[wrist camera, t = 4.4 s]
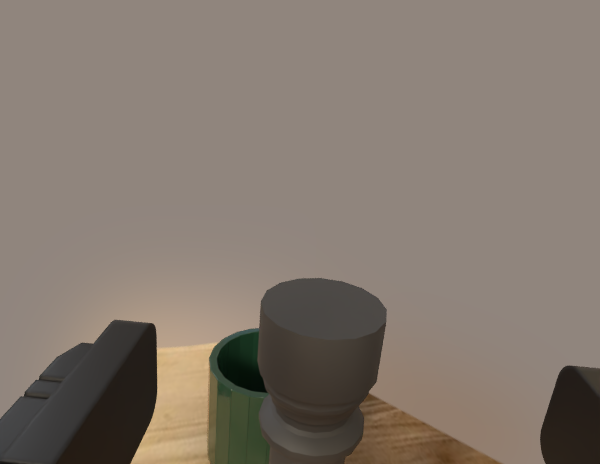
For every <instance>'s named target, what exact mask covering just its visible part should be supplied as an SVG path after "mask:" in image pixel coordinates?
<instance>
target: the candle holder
mask: <svg viewBox="0 0 600 464" xmlns="http://www.w3.org/2000/svg"><path fill="white" fill-rule="evenodd" d="M385 326H386V308H385V307H384V306H383V304H382V303H381V302H380V300H379V299H378V298H377V297H375V296H374V295H372V294H370V293H369V292H367V291H366V290H364V289H362V288H359V287H356V286H354V285H350V284H348V283H345V282H341V281H335V280H328V279H322V278H315V279H314V278H312V279H311V278H310V279H296V280H291V281H287V282H282V283H279V284H278V285H276V286H274V287H273V288H271V289H269V290H267V291H266V293H265V295H264V297H263V299H262V300H261V310H260V327H259V342H258V358H257V361H258V366H259V371H260V375H261V376H262V377H263V380H264V385H265V389H266V390H267V392H268V393H269V395H268V396H267V397H266V398H264V400H263V403H262V405H261V408H260V411H259V422H260V427H261V432H262V436H263V437H264V439H265V440H266V441H267V442H268V444H269V445H270V455H269V464H344V460H345V457H346V456H348V455H350V454H351V453H352V452H353V450H354V449H355V448H356V446H357V445H358V444H359V442H360V441H361V439H362V436H363V427H364V417H363V415H362V412H361V410H360V408H359V405H360V404H361V403H362V401H363V400H364V399H365V398H366V396H367V395H368V393H369V390H370V389H371V388H372V387H373V386H374V384H375V383H376V381H377V375H378V369H379V363H380V357H381V350H382V345H383V339H384V332H385Z"/></svg>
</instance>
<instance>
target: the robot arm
mask: <svg viewBox="0 0 600 464" xmlns="http://www.w3.org/2000/svg"><path fill="white" fill-rule="evenodd" d="M156 344H157V342H156V328H155V326H154V324H152V323H142V322H133V321H123V320H114V321H112V322H111V323H110V324H109V326H108V327H107V328H106V329H105V330H104V332H103V333H102V334H101V335H100V336H99V338H98V339H97V340H96V341H95V343H94V344H89V343H81V344H79V345H77V346H75V347H74V348H72V349H70V350H68V351H67V352H65V353H63V354H62V355H60V356H58V357H57V358H56V359H55V360H54V361H53V362H52V363H51V364H50V365H49V366H48V367H47V369H46V370H45V371H44V372H43V373H42V374H41V375H40V376H39V380H35V382H34V383H33V384H32V385H31V386H30V387H29V388H28V389H27V390H26V391H25V394H24V397H20V398H19V399H18V400H17V401H16V402H15V403H14V404H13V406H12V407H11V408H10V409H9V410H8V411H7V412H6V413H5V414H4V415H3V416H2V418H1V419H0V464H130V463H131V461H132V459H133V457H134V455H135V453H136V451H137V449H138V447H139V444H140V442H141V440H142V438H143V436H144V434H145V432H146V430H147V428H148V426H149V424H150V421H151V419H152V416H153V412H154V409H155V404H156V397H157V345H156ZM540 442H541V450H542V455H543V458H544V461H545V463H546V464H600V369H599V368H589V367H578V366H566V367H564V368H563V369H562V370H561V371H560V373H559V375H558V378H557V381H556V384H555V388H554V391H553V394H552V397H551V400H550V403H549V407H548V410H547V413H546V416H545V419H544V422H543V425H542V429H541V437H540Z"/></svg>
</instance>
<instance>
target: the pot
mask: <svg viewBox="0 0 600 464" xmlns="http://www.w3.org/2000/svg"><path fill="white" fill-rule="evenodd" d="M258 342H259V328H256V329H248V330H244V331H240V332H237V333H235V334H232V335H230V336H228V337H226V338H224V339H223V340H221V341H220V342H219V343H218V344H217V345H216V346H215V347H214V348H213V350H212V353H211V355H210V357H209V382H208V425H207V451H208V458H209V461H210V464H269V455H270V445H269V444H268V442H267V441H266V440H265V439H264V437H263V436H262V432H261V427H260V422H259V411H260V408H261V405H262V403H263V400H264V398H266V397H267V396H268V395H269V393H268V392H267V390H266V389H265V385H264V380H263V377H262V376H261V375H260V371H259V366H258V361H257V358H258Z"/></svg>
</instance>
